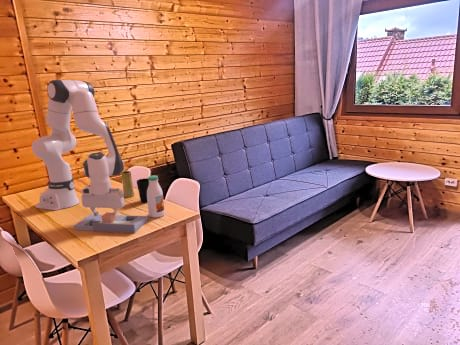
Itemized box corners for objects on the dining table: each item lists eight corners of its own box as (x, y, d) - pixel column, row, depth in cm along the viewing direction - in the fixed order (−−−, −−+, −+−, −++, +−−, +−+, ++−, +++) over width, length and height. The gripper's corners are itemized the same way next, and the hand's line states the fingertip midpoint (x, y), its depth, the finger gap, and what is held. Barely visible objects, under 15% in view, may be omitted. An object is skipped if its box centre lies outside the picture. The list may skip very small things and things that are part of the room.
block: (102, 223, 165) (101, 216, 164) (107, 219, 169) (106, 212, 168) (111, 223, 164) (110, 216, 163) (116, 219, 168) (115, 212, 167)
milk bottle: (151, 219, 172) (147, 179, 167) (147, 214, 179) (142, 175, 173) (166, 216, 175) (163, 176, 170) (162, 211, 182) (158, 173, 177)
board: (73, 230, 163) (71, 222, 162) (91, 217, 177) (89, 210, 176) (134, 233, 157) (133, 224, 156) (148, 219, 171) (147, 212, 170)
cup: (149, 203, 193) (147, 182, 190) (136, 203, 195) (133, 182, 191) (155, 199, 200) (153, 178, 197) (142, 198, 202) (140, 178, 199)
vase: (124, 194, 210) (121, 171, 207) (135, 193, 211) (132, 170, 207) (122, 197, 205) (119, 173, 201) (133, 197, 205) (130, 173, 201)
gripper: (125, 186, 167) (128, 213, 171) (85, 185, 171) (89, 212, 174) (118, 190, 161) (122, 219, 165) (77, 190, 165) (82, 217, 168)
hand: (105, 215), depth 170 cm, fingers open, 8 cm apart
